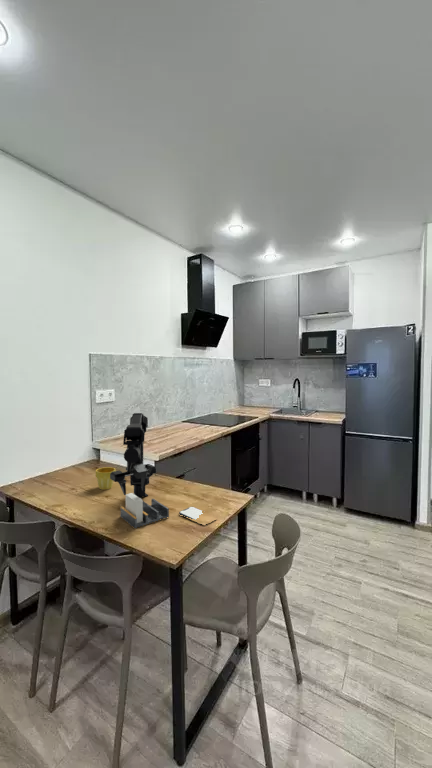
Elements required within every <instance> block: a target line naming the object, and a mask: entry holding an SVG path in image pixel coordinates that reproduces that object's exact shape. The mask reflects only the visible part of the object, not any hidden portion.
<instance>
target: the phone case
mask: <svg viewBox="0 0 432 768" xmlns="http://www.w3.org/2000/svg"><path fill="white" fill-rule="evenodd" d="M202 511H203V510H201V509H199V508H197V507H196V506H195V507H194V506H188V507H187V508H185V509H183V510H180V511H178V512H179V513H178V515H179V514H180V515H183V516H185V517H188V518H191V519H195V520H196V519H197V518H199V515H201V514H203V513H202ZM180 515H179V516H180Z"/></svg>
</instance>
